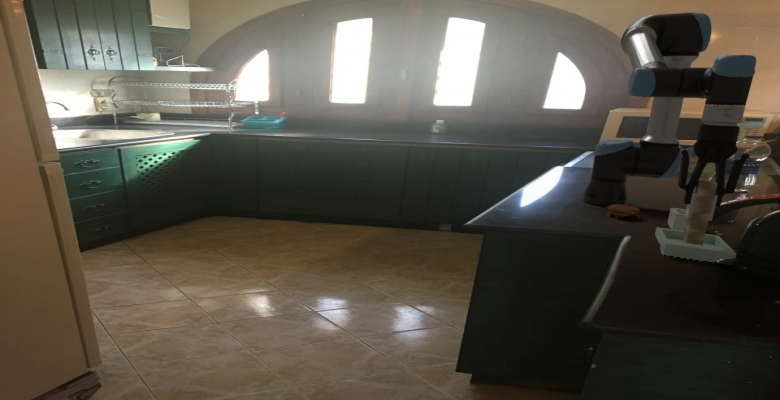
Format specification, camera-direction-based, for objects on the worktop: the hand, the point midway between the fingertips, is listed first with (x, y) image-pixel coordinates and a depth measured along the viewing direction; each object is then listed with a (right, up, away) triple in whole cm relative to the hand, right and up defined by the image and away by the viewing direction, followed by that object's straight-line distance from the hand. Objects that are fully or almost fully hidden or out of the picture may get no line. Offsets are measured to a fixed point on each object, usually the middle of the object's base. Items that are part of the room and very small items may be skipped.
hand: (698, 217), depth 100 cm
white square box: (+9, -5, +17) cm, 20 cm away
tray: (0, -9, +2) cm, 9 cm away
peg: (0, -6, +2) cm, 7 cm away
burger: (-2, -2, +29) cm, 29 cm away
